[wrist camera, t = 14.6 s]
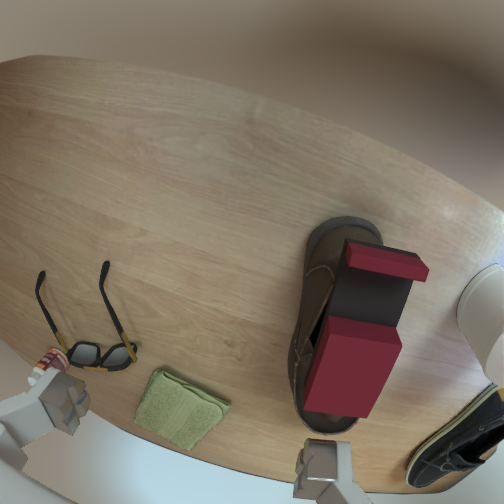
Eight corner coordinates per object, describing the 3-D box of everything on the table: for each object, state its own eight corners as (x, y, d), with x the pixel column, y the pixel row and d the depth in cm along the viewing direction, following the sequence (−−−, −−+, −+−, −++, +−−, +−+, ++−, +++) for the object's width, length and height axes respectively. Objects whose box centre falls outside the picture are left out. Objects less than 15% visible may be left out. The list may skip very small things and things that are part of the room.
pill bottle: (57, 344, 49) (31, 373, 41) (74, 365, 50) (50, 394, 42) (46, 350, 50) (22, 377, 43) (62, 369, 51) (39, 397, 44)
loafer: (290, 409, 45) (283, 466, 35) (278, 214, 34) (266, 255, 24) (361, 407, 43) (367, 464, 33) (382, 211, 32) (412, 250, 22)
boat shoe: (387, 468, 50) (391, 505, 41) (492, 370, 37) (512, 412, 29) (425, 472, 50) (430, 506, 41) (524, 382, 37) (543, 417, 29)
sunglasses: (108, 259, 39) (87, 276, 35) (147, 352, 45) (133, 375, 40) (43, 269, 42) (23, 284, 38) (81, 350, 48) (66, 368, 43)
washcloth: (236, 400, 46) (232, 415, 43) (195, 443, 53) (190, 456, 50) (158, 359, 45) (150, 374, 42) (132, 411, 52) (125, 424, 49)
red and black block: (345, 237, 24) (351, 254, 20) (416, 253, 23) (433, 271, 19) (303, 380, 28) (301, 409, 25) (363, 389, 28) (367, 419, 24)
